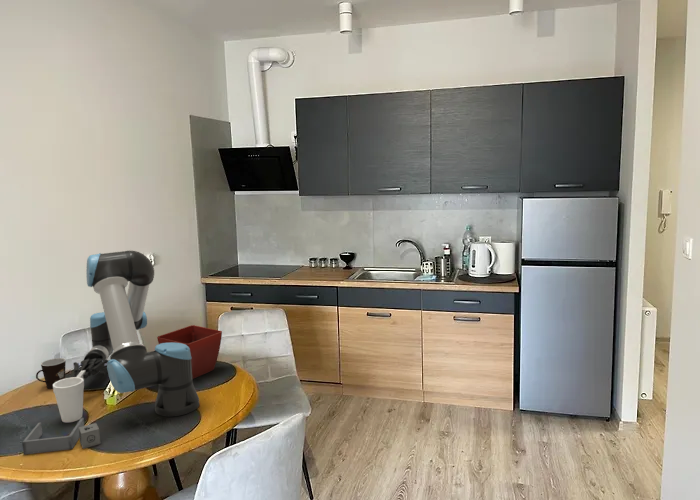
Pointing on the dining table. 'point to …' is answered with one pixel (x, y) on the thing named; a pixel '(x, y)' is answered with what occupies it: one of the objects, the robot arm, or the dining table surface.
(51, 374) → the coffee mug
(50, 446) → the tray
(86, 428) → the grey cube
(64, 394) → the foam cup
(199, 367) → the plant pot
